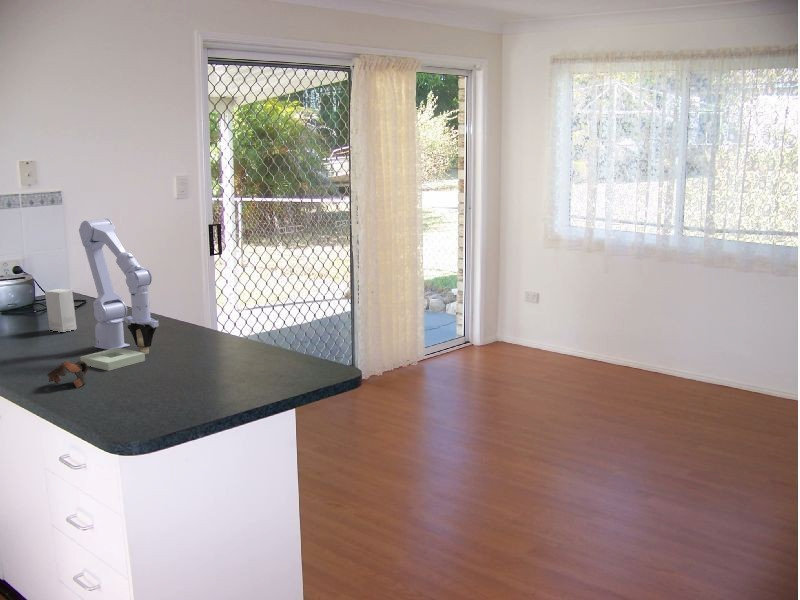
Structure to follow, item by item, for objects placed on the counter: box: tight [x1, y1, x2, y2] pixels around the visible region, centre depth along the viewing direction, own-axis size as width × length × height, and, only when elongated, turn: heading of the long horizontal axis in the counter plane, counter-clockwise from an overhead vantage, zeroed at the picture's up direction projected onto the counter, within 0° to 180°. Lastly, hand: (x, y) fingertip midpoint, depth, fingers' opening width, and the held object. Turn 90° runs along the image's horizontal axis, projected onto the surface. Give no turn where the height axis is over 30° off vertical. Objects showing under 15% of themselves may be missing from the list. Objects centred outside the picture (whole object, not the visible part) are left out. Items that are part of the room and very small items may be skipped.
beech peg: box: [136, 329, 150, 355], centre depth 277 cm, size 4×4×8 cm
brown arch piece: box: [46, 360, 89, 389], centre depth 243 cm, size 12×10×8 cm
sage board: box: [79, 348, 146, 371], centre depth 267 cm, size 14×14×2 cm
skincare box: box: [44, 288, 78, 333], centre depth 311 cm, size 8×7×16 cm
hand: (143, 345), depth 277 cm, fingers closed on beech peg, 4 cm apart
